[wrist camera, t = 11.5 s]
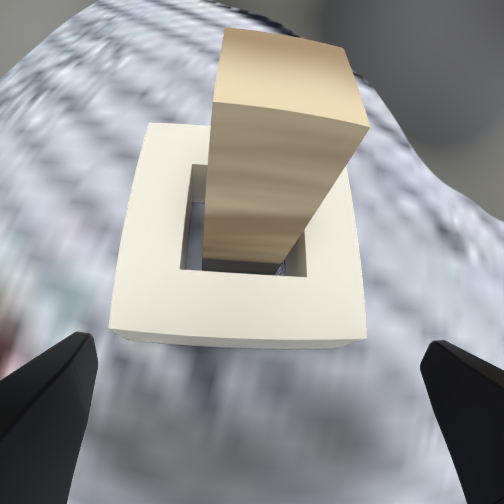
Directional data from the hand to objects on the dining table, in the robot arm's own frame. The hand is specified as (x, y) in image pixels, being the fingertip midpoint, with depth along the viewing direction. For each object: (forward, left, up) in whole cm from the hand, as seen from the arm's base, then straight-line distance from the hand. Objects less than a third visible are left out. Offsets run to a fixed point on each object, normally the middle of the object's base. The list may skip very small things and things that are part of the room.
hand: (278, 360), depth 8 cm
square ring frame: (+3, -7, -10) cm, 13 cm away
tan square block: (+3, -7, -10) cm, 13 cm away
